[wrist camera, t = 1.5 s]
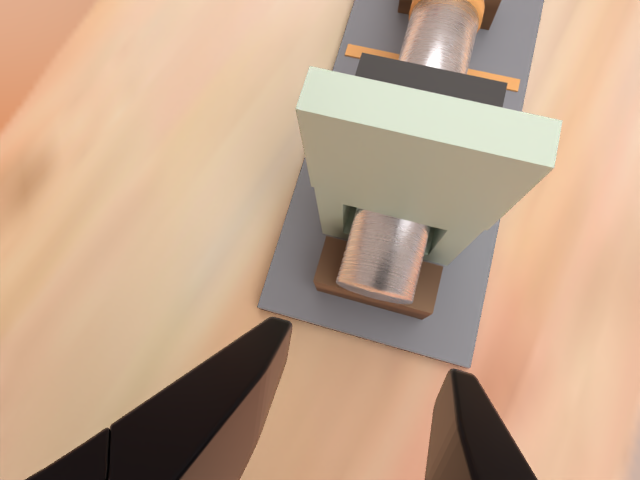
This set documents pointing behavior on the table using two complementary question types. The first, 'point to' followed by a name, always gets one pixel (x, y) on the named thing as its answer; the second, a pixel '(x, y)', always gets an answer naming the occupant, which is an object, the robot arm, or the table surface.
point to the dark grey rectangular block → (432, 79)
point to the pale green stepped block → (418, 157)
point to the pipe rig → (393, 233)
